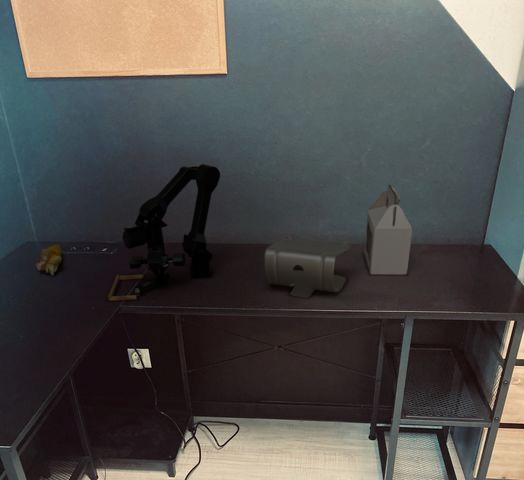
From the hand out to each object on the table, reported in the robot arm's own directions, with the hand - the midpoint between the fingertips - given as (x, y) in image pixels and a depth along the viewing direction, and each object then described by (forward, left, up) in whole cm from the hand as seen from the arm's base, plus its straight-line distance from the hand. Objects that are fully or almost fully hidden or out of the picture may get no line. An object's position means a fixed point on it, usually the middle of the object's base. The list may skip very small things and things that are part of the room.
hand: (161, 283), depth 189 cm
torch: (+44, -26, -2) cm, 51 cm away
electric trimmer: (+3, 0, -2) cm, 4 cm away
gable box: (-84, -12, -2) cm, 85 cm away
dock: (+12, 0, -1) cm, 12 cm away
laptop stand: (-52, +4, -2) cm, 52 cm away
